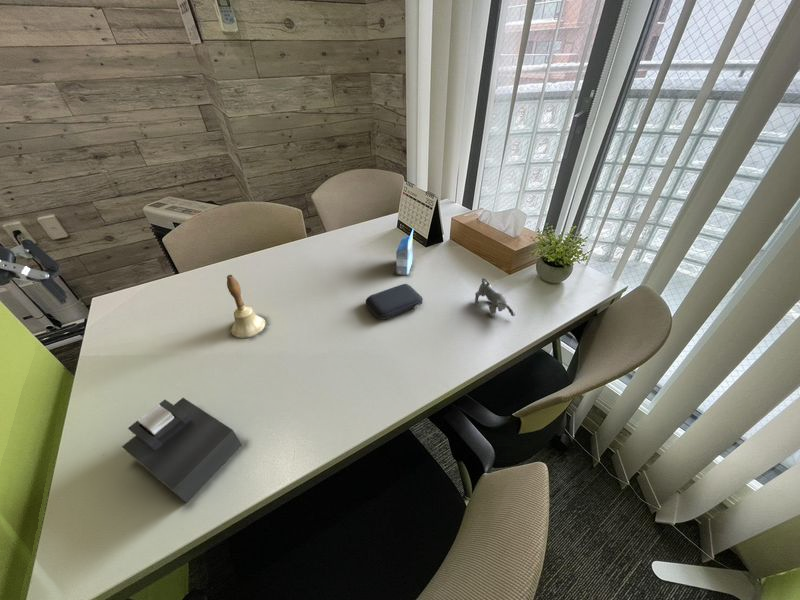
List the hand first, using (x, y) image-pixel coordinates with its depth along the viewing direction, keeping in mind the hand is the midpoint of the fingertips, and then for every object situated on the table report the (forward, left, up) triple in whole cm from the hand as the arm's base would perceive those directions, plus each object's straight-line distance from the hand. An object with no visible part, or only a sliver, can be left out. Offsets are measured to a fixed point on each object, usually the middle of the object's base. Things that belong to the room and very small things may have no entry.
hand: (29, 317), depth 48 cm
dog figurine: (+87, +6, -27) cm, 91 cm away
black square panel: (+14, -12, -27) cm, 32 cm away
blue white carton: (+71, +34, -27) cm, 83 cm away
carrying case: (+62, +16, -27) cm, 69 cm away
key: (+11, -9, -20) cm, 24 cm away
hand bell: (+23, +20, -27) cm, 40 cm away
